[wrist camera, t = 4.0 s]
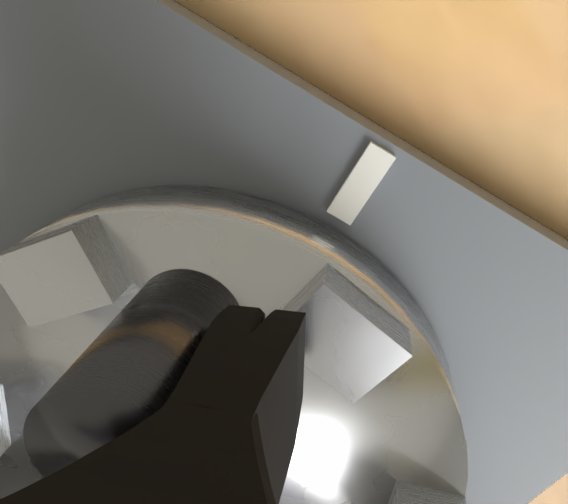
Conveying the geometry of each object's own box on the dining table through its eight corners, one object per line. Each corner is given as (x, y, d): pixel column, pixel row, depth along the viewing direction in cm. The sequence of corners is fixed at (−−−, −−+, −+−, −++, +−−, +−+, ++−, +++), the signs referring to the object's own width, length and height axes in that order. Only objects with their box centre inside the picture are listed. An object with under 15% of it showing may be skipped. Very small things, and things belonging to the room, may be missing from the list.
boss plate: (692, 316, 13) (734, 352, 12) (323, 625, 22) (319, 669, 20) (45, -78, 12) (-3, -94, 10) (-77, 417, 21) (-112, 447, 19)
